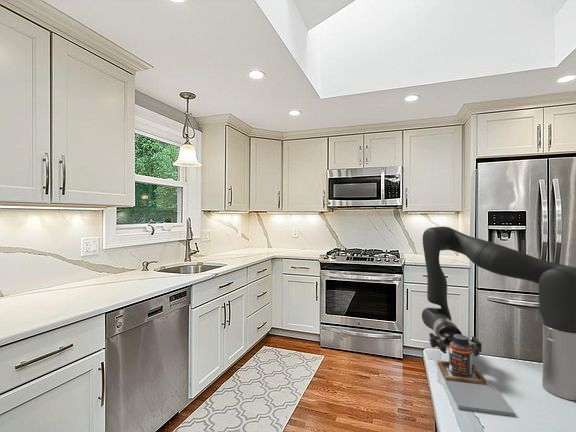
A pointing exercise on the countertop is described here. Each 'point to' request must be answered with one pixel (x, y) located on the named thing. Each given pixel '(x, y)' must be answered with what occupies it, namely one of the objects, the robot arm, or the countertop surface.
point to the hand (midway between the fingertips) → (460, 351)
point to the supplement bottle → (460, 356)
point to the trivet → (478, 398)
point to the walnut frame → (480, 379)
